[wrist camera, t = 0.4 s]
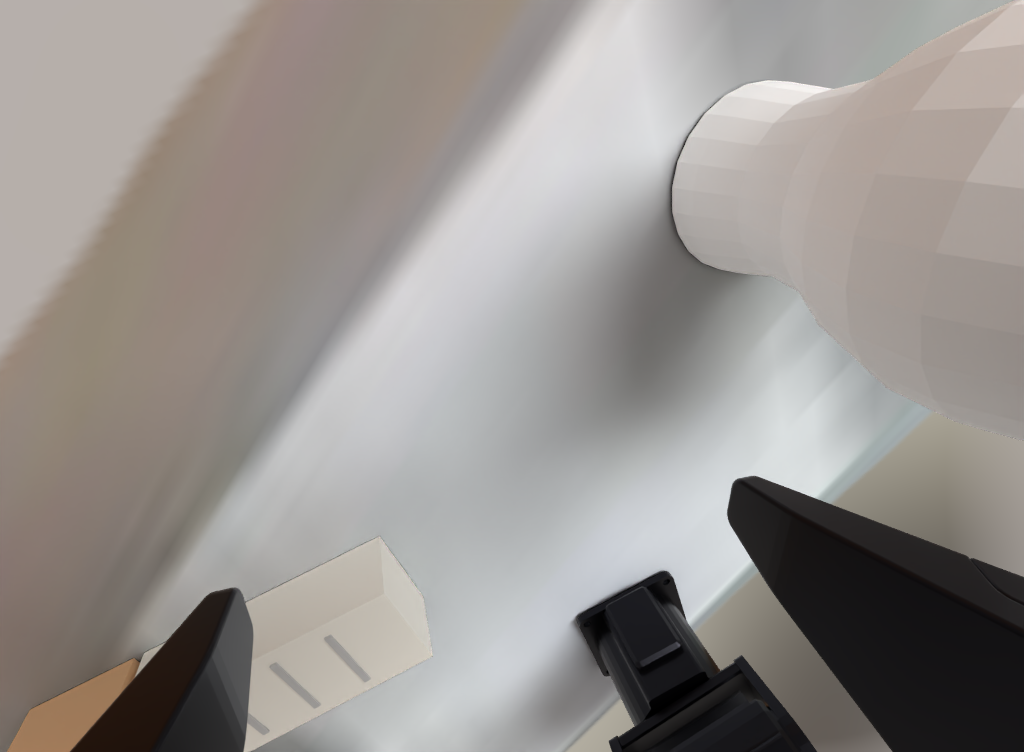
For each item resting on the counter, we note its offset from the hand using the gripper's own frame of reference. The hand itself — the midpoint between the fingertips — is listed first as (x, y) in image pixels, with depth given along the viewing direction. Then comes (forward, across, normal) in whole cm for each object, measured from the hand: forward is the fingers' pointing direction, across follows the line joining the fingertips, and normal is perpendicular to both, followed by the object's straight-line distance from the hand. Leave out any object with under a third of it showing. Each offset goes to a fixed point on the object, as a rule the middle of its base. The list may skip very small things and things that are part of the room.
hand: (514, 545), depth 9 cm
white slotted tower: (+14, +8, +15) cm, 22 cm away
